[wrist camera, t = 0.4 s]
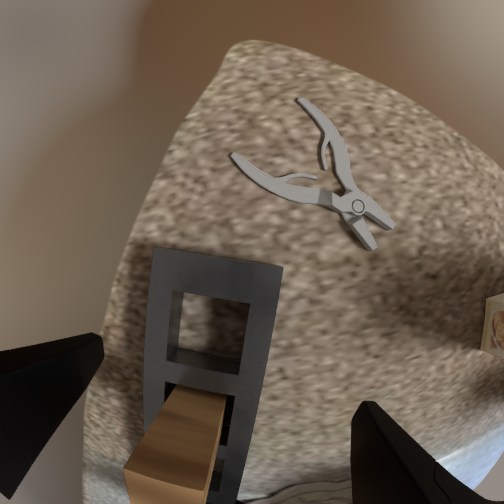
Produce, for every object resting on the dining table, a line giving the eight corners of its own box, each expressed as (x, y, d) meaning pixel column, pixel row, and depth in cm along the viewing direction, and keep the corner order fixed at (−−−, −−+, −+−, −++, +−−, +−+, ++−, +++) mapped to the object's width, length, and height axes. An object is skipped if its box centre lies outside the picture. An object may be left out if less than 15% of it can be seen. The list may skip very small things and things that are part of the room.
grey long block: (236, 488, 23) (234, 507, 20) (157, 471, 23) (149, 488, 20) (279, 265, 23) (283, 267, 20) (168, 248, 24) (154, 247, 20)
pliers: (303, 91, 22) (414, 202, 22) (301, 99, 24) (406, 205, 24) (227, 153, 22) (350, 277, 22) (229, 159, 24) (344, 276, 24)
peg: (223, 419, 23) (200, 525, 9) (180, 410, 23) (131, 505, 9) (229, 383, 23) (203, 491, 9) (183, 374, 23) (122, 467, 9)
